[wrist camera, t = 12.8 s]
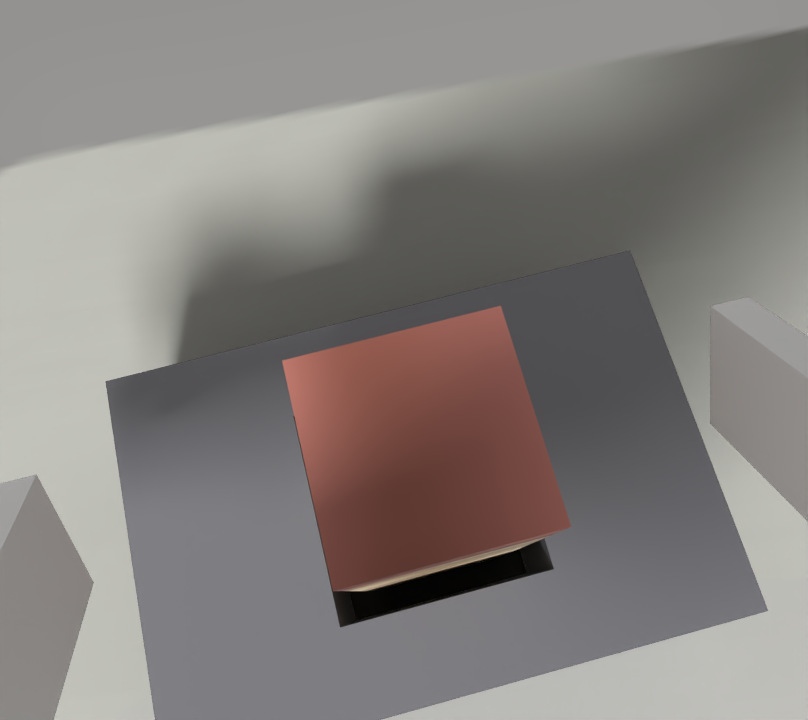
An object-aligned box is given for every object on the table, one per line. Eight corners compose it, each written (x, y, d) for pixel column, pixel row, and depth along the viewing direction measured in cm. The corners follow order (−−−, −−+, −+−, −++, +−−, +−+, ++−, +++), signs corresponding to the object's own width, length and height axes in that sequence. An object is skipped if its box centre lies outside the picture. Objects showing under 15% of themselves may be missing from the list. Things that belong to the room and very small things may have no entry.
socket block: (591, 312, 26) (629, 250, 21) (695, 606, 23) (767, 610, 18) (164, 421, 25) (105, 381, 20) (218, 740, 22) (164, 780, 18)
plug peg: (463, 436, 25) (500, 305, 13) (497, 557, 24) (571, 526, 12) (345, 467, 25) (282, 360, 13) (374, 591, 24) (332, 590, 12)
